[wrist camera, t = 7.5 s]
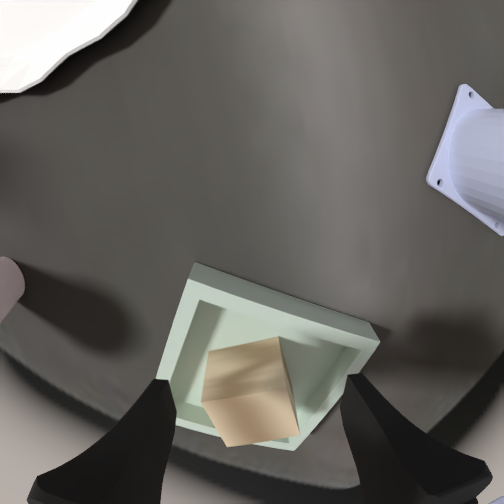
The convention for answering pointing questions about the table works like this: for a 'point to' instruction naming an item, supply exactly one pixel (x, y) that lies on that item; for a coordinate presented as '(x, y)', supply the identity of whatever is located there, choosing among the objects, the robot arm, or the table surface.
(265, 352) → the maple cube
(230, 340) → the green tray
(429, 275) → the table surface
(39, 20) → the plate
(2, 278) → the smoothie
